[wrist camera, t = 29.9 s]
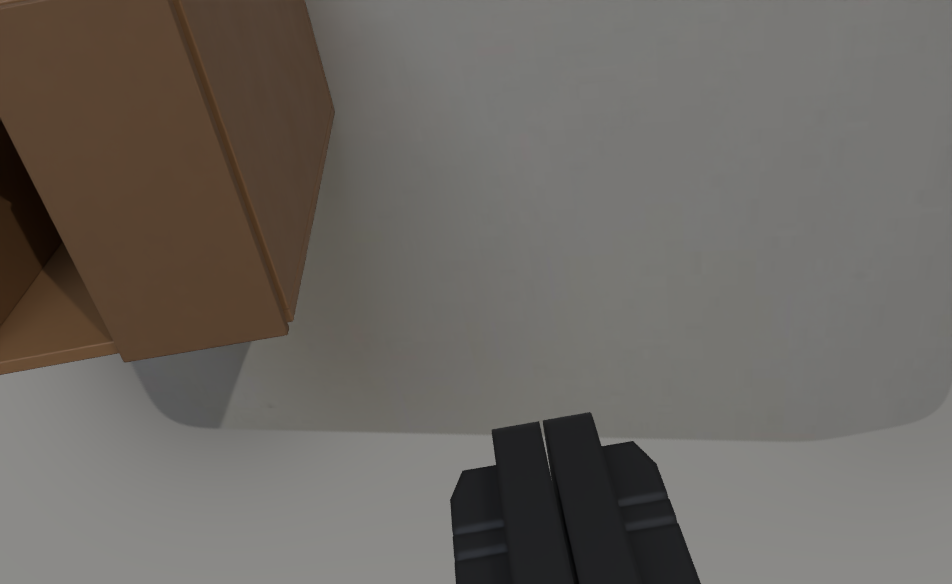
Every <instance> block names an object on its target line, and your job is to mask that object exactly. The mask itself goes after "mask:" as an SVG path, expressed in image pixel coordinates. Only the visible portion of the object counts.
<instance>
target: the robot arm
mask: <svg viewBox="0 0 952 584" xmlns="http://www.w3.org/2000/svg"><path fill="white" fill-rule="evenodd" d="M543 427H544V433H545V440H546V446H547V453H548V459H549V465H550V470H549V466H548V461H547V456H546V452H545V447H544V442H543V438H542V433H541V428H540V424H539V421H538V422H533V423H527V424H521V425H515V426H510V427H504V428H498V429H492V438H493V445H494V452H495V459H496V465H494V466H488V467H482V468H476V469H470V470H464V471H462V473H461V476H460V478H459V480H458V483H457V485H456V488H455V490H454V492H453V495H452V497H451V499H450V503H451V516H452V531H453V545H454V558H455V576H456V584H701V583H700V580H699V578H698V575H697V572H696V570H695V567H694V564H693V562H692V559H691V556H690V553H689V551H688V548H687V545H686V543H685V540H684V537H683V534H682V532H681V529H680V526H679V524H678V523H677V520H676V515H675V513H674V510H673V507H672V505H671V502H670V499H668V495H667V491H666V489H665V486H664V483H663V480H662V478H661V475H660V472H659V470H658V467H657V464H656V463H655V462H654V461H653V460H652V459H651V458H650V457H649V456H647V454H646V453H645V452H644V451H643V450H642V449H640V447H638V446H637V445H636V444H635V443H634V442H633V441H631V442H625V443H619V444H613V445H607V446H601V444H600V440H599V437H598V433H597V430H596V427H595V423H594V420H593V417H592V414H591V413H590V412H589V413H583V414H577V415H571V416H566V417H560V418H554V419H548V420H543ZM550 472H551V475H550ZM551 479H552V480H551Z"/></svg>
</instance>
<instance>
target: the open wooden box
mask: <svg viewBox="0 0 952 584" xmlns="http://www.w3.org/2000/svg"><path fill="white" fill-rule="evenodd" d="M21 1H27V0H0V5H6V4H11V3H16V2H21ZM172 1H173V4H174V7H175V10H176V13H177V15H178V18H179V21H180V24H181V27H182V29H183V32H184V35H185V38H186V41H187V43H188V46H189V49H190V52H191V55H192V57H193V60H194V63H195V66H196V69H197V71H198V74H199V77H200V80H201V83H202V85H203V88H204V91H205V94H206V97H207V99H208V102H209V105H210V108H211V111H212V113H213V116H214V119H215V122H216V125H217V127H218V130H219V133H220V136H221V139H222V141H223V144H224V147H225V150H226V153H227V155H228V158H229V161H230V164H231V167H232V169H233V172H234V175H235V178H236V181H237V183H238V186H239V189H240V192H241V195H242V197H243V200H244V203H245V206H246V209H247V211H248V214H249V217H250V220H251V223H252V225H253V228H254V231H255V234H256V237H257V239H258V242H259V245H260V248H261V251H262V253H263V256H264V259H265V262H266V265H267V267H268V270H269V273H270V276H271V279H272V281H273V284H274V287H275V290H276V293H277V295H278V298H279V301H280V304H281V307H282V309H283V312H284V315H285V318H286V321H287V322H292V321H293V320H294V314H295V309H296V304H297V299H298V294H299V289H300V284H301V279H302V274H303V269H304V264H305V259H306V254H307V249H308V244H309V239H310V234H311V229H312V224H313V219H314V214H315V209H316V204H317V199H318V194H319V189H320V184H321V179H322V174H323V169H324V163H325V158H326V153H327V148H328V143H329V138H330V133H331V128H332V123H333V118H334V113H335V110H334V107H333V103H332V99H331V96H330V92H329V88H328V85H327V81H326V77H325V74H324V70H323V66H322V63H321V59H320V55H319V51H318V48H317V44H316V40H315V37H314V33H313V29H312V26H311V22H310V18H309V15H308V11H307V7H306V4H305V0H172ZM117 353H119V351H118V349H117V347H116V346H115V344H114V342H113V340H112V338H111V336H110V334H109V332H108V330H107V328H106V326H105V324H104V322H103V320H102V318H101V316H100V314H99V312H98V310H97V308H96V306H95V304H94V302H93V300H92V298H91V296H90V294H89V292H88V290H87V288H86V286H85V284H84V282H83V280H82V278H81V276H80V274H79V272H78V270H77V268H76V267H75V265H74V263H73V261H72V259H71V257H70V255H69V253H68V251H67V249H66V247H65V245H64V243H63V241H62V239H61V237H60V235H59V233H58V231H57V229H56V227H55V225H54V223H53V221H52V219H51V217H50V215H49V213H48V211H47V209H46V207H45V205H44V203H43V201H42V199H41V197H40V195H39V193H38V191H37V189H36V188H35V186H34V184H33V182H32V180H31V178H30V176H29V174H28V172H27V170H26V168H25V166H24V164H23V162H22V160H21V158H20V156H19V154H18V152H17V150H16V148H15V146H14V144H13V142H12V140H11V138H10V136H9V134H8V132H7V130H6V128H5V126H4V124H3V122H2V120H1V118H0V375H2V374H7V373H13V372H19V371H24V370H30V369H35V368H40V367H46V366H51V365H57V364H62V363H68V362H73V361H79V360H84V359H89V358H95V357H101V356H106V355H112V354H117Z"/></svg>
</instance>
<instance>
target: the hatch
mask: <svg viewBox="0 0 952 584" xmlns="http://www.w3.org/2000/svg"><path fill="white" fill-rule="evenodd" d="M0 118H1V120H2V122H3V124H4V126H5V128H6V130H7V132H8V134H9V136H10V138H11V140H12V142H13V144H14V146H15V148H16V150H17V152H18V154H19V156H20V158H21V160H22V162H23V164H24V166H25V168H26V170H27V172H28V174H29V176H30V178H31V180H32V182H33V184H34V186H35V188H36V189H37V191H38V193H39V195H40V197H41V199H42V201H43V203H44V205H45V207H46V209H47V211H48V213H49V215H50V217H51V219H52V221H53V223H54V225H55V227H56V229H57V231H58V233H59V235H60V237H61V239H62V241H63V243H64V245H65V247H66V249H67V251H68V253H69V255H70V257H71V259H72V261H73V263H74V265H75V267H76V268H77V270H78V272H79V274H80V276H81V278H82V280H83V282H84V284H85V286H86V288H87V290H88V292H89V294H90V296H91V298H92V300H93V302H94V304H95V306H96V308H97V310H98V312H99V314H100V316H101V318H102V320H103V322H104V324H105V326H106V328H107V330H108V332H109V334H110V336H111V338H112V340H113V342H114V344H115V346H116V347H117V349H118V351H119V353H120V355H121V357H122V359H123V361H124V362H131V361H137V360H143V359H149V358H154V357H160V356H166V355H172V354H178V353H184V352H190V351H196V350H202V349H208V348H213V347H219V346H225V345H231V344H237V343H243V342H249V341H255V340H261V339H267V338H273V337H278V336H284V335H287V334H288V331H289V326H288V323H287V321H286V318H285V315H284V312H283V309H282V307H281V304H280V301H279V298H278V295H277V293H276V290H275V287H274V284H273V281H272V279H271V276H270V273H269V270H268V267H267V265H266V262H265V259H264V256H263V253H262V251H261V248H260V245H259V242H258V239H257V237H256V234H255V231H254V228H253V225H252V223H251V220H250V217H249V214H248V211H247V209H246V206H245V203H244V200H243V197H242V195H241V192H240V189H239V186H238V183H237V181H236V178H235V175H234V172H233V169H232V167H231V164H230V161H229V158H228V155H227V153H226V150H225V147H224V144H223V141H222V139H221V136H220V133H219V130H218V127H217V125H216V122H215V119H214V116H213V113H212V111H211V108H210V105H209V102H208V99H207V97H206V94H205V91H204V88H203V85H202V83H201V80H200V77H199V74H198V71H197V69H196V66H195V63H194V60H193V57H192V55H191V52H190V49H189V46H188V43H187V41H186V38H185V35H184V32H183V29H182V27H181V24H180V21H179V18H178V15H177V13H176V10H175V7H174V4H173V1H172V0H27V1H21V2H16V3H11V4H6V5H0Z"/></svg>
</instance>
